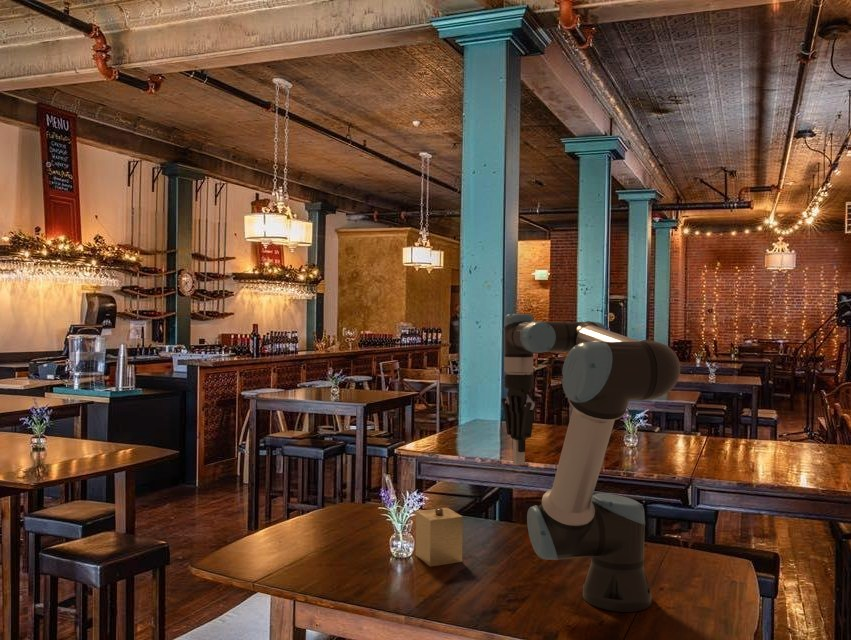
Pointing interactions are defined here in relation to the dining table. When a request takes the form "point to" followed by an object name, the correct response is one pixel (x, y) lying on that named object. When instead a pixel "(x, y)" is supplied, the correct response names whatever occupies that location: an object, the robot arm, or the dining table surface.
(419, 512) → the tan box with knob
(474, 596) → the dining table surface
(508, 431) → the robot arm
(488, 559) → the dining table surface
